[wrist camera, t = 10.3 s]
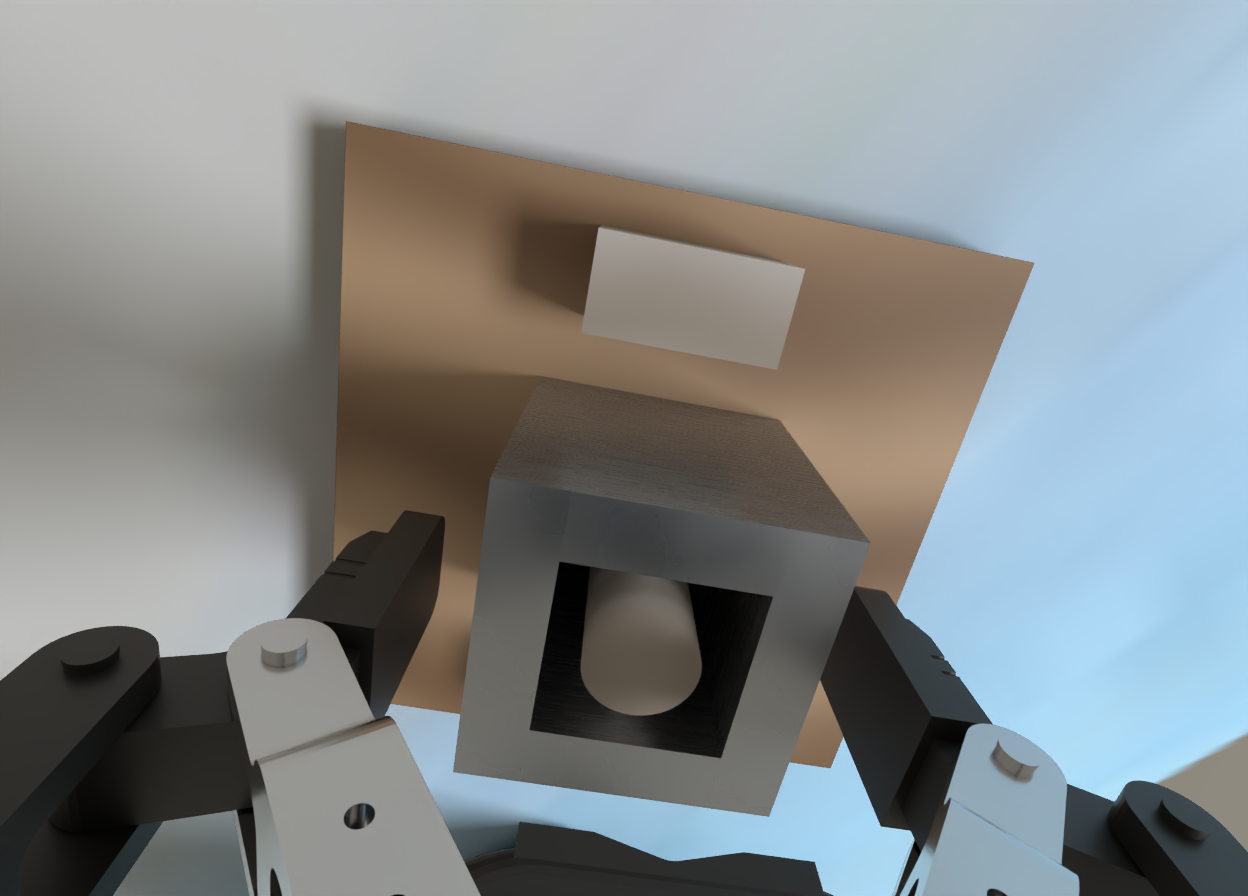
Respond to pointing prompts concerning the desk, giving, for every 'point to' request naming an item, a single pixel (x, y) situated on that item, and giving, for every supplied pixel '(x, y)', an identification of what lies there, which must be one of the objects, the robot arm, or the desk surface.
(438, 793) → the desk surface
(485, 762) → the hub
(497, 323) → the stand
